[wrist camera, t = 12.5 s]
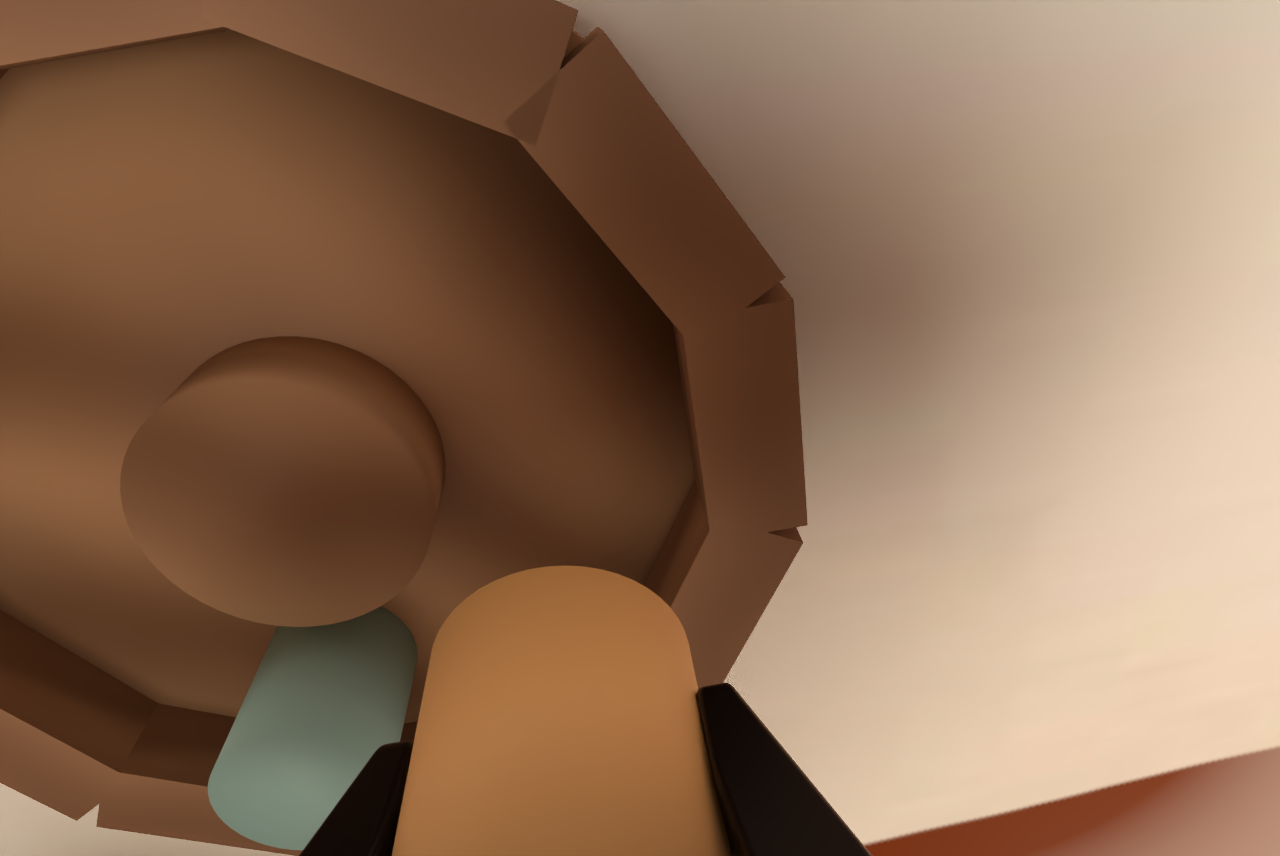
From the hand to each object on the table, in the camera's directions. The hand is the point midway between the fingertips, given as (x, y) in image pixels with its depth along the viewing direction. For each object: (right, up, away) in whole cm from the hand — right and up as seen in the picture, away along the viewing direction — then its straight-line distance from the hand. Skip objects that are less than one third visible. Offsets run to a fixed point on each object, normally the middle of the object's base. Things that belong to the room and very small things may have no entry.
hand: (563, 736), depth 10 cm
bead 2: (0, +1, +1) cm, 1 cm away
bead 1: (-6, -2, +10) cm, 12 cm away
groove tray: (-6, +4, +8) cm, 11 cm away
